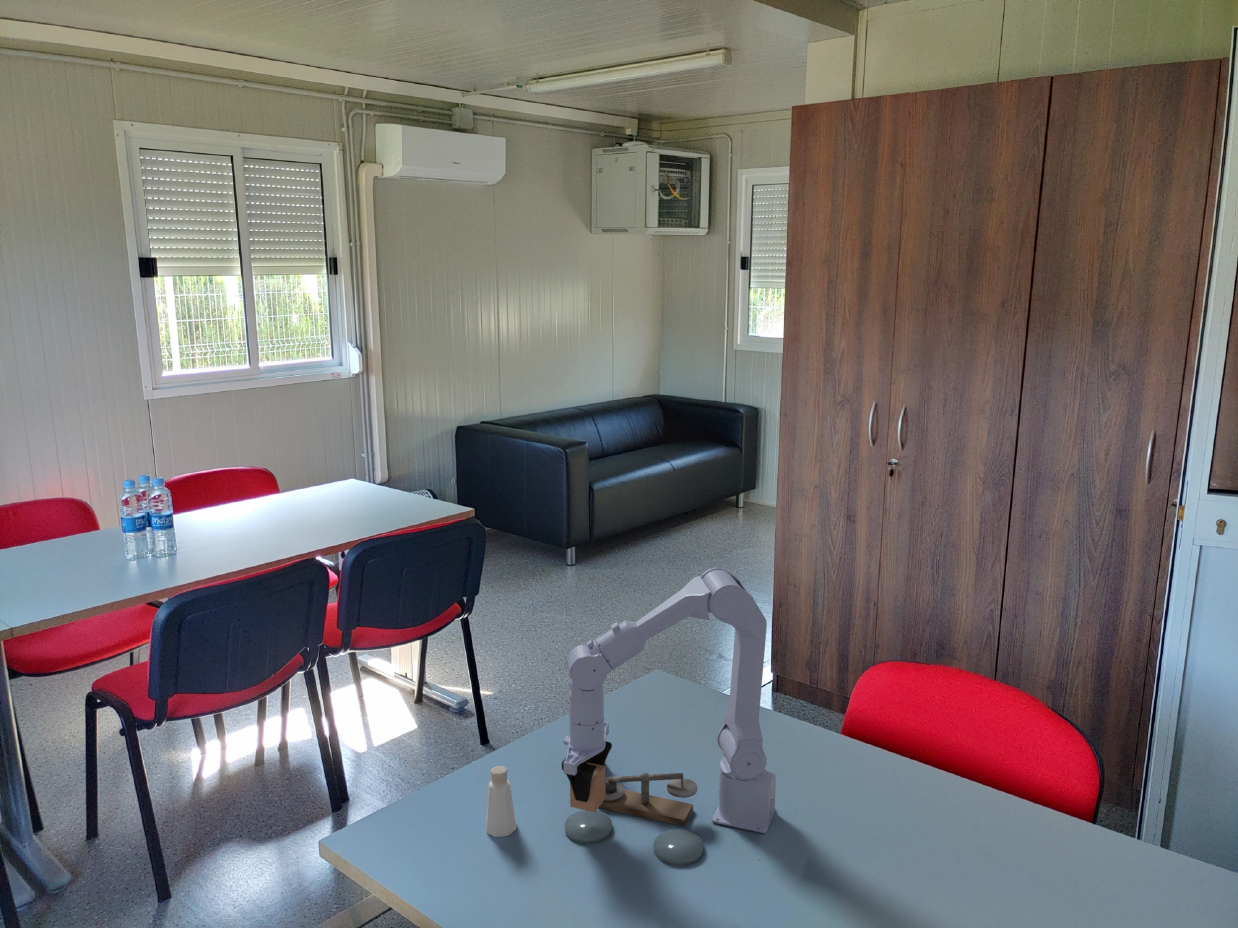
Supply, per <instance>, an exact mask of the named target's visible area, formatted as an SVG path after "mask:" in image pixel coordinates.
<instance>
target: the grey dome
mask: <svg viewBox="0 0 1238 928" xmlns="http://www.w3.org/2000/svg"><path fill="white" fill-rule="evenodd" d="M612 831H613V822H612V819H611V818H610V816H609V815H608V814H606V813H604V812H602V811H599V810H597V811H596V812H591V811H587V810H578V811H577V812H574V813H572V814H570V815H569V816H568V817H567V818H566V819H565V822H564V833H565V836H567V838H569V840H571V841H573V842H575V843H580V844H596V843H599V842H602V841H604V840H606V839H608V837H610V835H611V834H612Z"/></svg>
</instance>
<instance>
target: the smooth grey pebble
mask: <svg viewBox="0 0 1238 928" xmlns="http://www.w3.org/2000/svg"><path fill="white" fill-rule="evenodd" d="M703 852H704V843H703V840H702V839H701V838H700V836H699V835H697V834H695V833H694V832H691V831H689V830H685V829H670V830H667V831H663V832H661V833H660V834H658V835H657V836H656V838H655V839H654V842H653V853H654V855H655V856H656V857H657V858H658V860H660V861H661V862H664V863H665V864H668V865H671V866H672V865H673V866H688V865H690V864H694V863H696V862H698V861H699V860H700V859H701V858H702V856H703V854H704V853H703Z"/></svg>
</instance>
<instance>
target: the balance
mask: <svg viewBox="0 0 1238 928" xmlns="http://www.w3.org/2000/svg"><path fill="white" fill-rule="evenodd" d="M652 781H669V782H668V783H667V785H666V791H667V793H668V794H669V795H671V796H673V797H676V798H682V799H683V798H685V799H686V798H690V797H693V796H695V795H696V794H697V792H698V785H697V783H696V782H695V781H693V780H691V779H689V778H684V773H683V772H675V773H674V772H673V773H657V774H649V773H648V772H642V773H641V774H640V775H639V774H637V775H622V776H621V775H617V776H605V799H604V801H603V802H602V804H601V805H600V806H599V808H600V809H605V810H608V811H613V812H617V813H623V814H627V815H632V816H637V817H639V818H640V817H641V818H643V819H644V818H645V819H650V820H655V821H660V822H663V823H668V824H672V825H677V826H682V827H685V826H686V824H687V822H688V821H689V819H690V817H691V816H692V814H693V811H694V804H693V803H689V802H685V801H679V800H676V799H675V800H673V799H669V798H665V797H661V796H656V795H650V782H652ZM632 782H640V792H638V791H637V792H636V791H631V790H627V789H625V788H624V786H623V785H622V784H621V783H632ZM599 808H598V809H599Z"/></svg>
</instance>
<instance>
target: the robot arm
mask: <svg viewBox="0 0 1238 928" xmlns="http://www.w3.org/2000/svg"><path fill="white" fill-rule="evenodd" d="M710 613H711V614H712V616H713V617H714V618H716V620H718V621H720V622H722V623H724V624H727V625H730V626H732V627H733V628H734V636H733V637H734V639H733V650H732V651H733V652H732V653H733V654H732V663H731V678H730V687H729V688H730V689H729V702H728V703H729V704H728V711H727V712H726V713H725V714H724V716H723V723H722V726H721V727H720V729H719V731H718V733H717V736H716V737H717V738H716V739H717V740H716V742H717V745H718V747H719V749H720V750H721V751H722V758H721V759H720V763H719V789H718V790H719V791H718V792H719V794H718V795H719V797H718V806H717V808H716V809H715V812H714V814H713V816H712V817H711V822H712V823H714V824H719V825H724V826H727V827H728V826H729V827H732V828H733V827H734V828H737V829H742V830H747V831H752V832H756V833H760V834H767V832H768V829H769V827H770V825H771V821H772V819H773V818H774V814H775V811H776V786H777V785H776V784H777V783H776V781H777V779H776V774H775V773H773V772H771V771H770V770H769V771H768V770H767V769H766V767H767V756H766V753H765V752H764V748H763V741H764V738H763V735H762V734H763V733H762V729H761V724H760V721H759V720H760V711H761V710H760V709H761V697H762V687H763V685H762V684H763V675H764V663H765V662H764V661H765V652H766V638H767V629H768V625H767V618H766V617H765V615H764V614H763V612H762V610H761V609H760V608H759V606H758V604H757V602H756V600H755V598H754V597H753V596H752V594H750V591H748V589H746V587H745V585H744V584H742V582H741V580H740V579H739V578H738V577H736V575H734V574H732V573H731V572H729V570H727V569H725V568H722V567H712V568H709V569H706V571H704V572H703V573H702V574H701V575H698V576H696V577H693V578H692V579H691V580H690V581H689V582H688V583H687V584H686V585H685V586H684V587H682V589H680V590H679V591H677V592H676V593H674V594H673V595H672V596H670V597H669V598H668V599H665V601H664V602H662V603H661V604H660V605H659V604H658V606H657V607H655V608H654V609H652V610H651V611H649V612H648V613H646V614H645V615H644V616H642V617H641V618H640V619H638V620H637V621H630V620H623V621H622V622H620V623H619V622H618V621H616V622H614V623H612V624H611V625H610V627H611V629H609V630H607V631H606V632H605V633H603V634H601V635H600V636H599V637H597V638H596V639H594V640H592V639H590V640H588V641H587V642H586V644H584V645H583V644H580V645H577V646H575V647H574V648H573V649H572V650H571V651H570V652H569V654H568V656H567V658H566V660H565V662H566V666H567V669H568V672H569V683H568V684H569V692H568V710H569V711H568V712H569V713H568V714H569V716H568V717H569V734H568V735H566V736H565V738H563V745H566V746H567V752H566V757H565V758H564V759H563V760H562V762H561V770H562V771H563V774H565V775H566V777H567V779H568V781H569V784H570V783H571V786H572V790H573V793H574V797H575V800H578V801H582V802H587V801H588V798H589V794H590V786H591V780H592V776H593V773H594V771H595V769H596V767H597V766H594V765H589V764H587V762H588V763H593V764H598V765H603V766H604V765H605V764H606V761H607V758H608V756H609V753H610V751H611V750H612V747H613V744H612V743H611V742H610V741H607V736H608V735H609V734H610V729H609V728H610V726H609V725H610V724H609V722H605V699H604V698H605V695H604V694H605V693H604V689H603V685H604V683H605V681H606V679H607V675H608V674H610V673H611V672H612V671H614V670H616V669H617V668H619V667H621V666H622V665H624V664H625V663H626V662H628V661H630V660H631V659H633V658H634V657H637V656H638V655H640V654H641V653H642V652H644V650H645V646H646V643H647V641H648V640H649V639H651V638H653V637H655V636H656V635H657V636H658V634H660V633H662V632H663V631H666V630H667V629H669V628H671V627H673V626H675V625H676V624H678V623H680V622H682V621H683V620H685V619H688V618H695V619H701V620H705V621H710V620H711V619H710ZM605 766H606V765H605Z"/></svg>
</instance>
